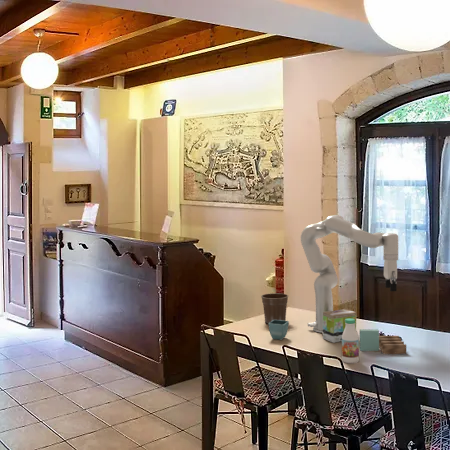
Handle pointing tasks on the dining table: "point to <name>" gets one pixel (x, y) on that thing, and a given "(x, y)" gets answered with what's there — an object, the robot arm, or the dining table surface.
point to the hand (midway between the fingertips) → (390, 289)
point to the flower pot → (278, 329)
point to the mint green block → (369, 340)
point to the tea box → (336, 324)
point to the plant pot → (274, 306)
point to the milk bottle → (350, 342)
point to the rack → (391, 345)
